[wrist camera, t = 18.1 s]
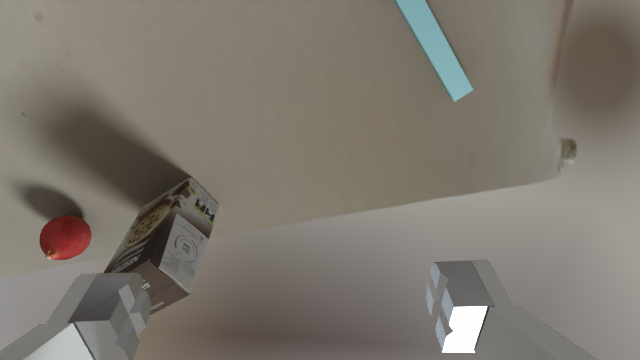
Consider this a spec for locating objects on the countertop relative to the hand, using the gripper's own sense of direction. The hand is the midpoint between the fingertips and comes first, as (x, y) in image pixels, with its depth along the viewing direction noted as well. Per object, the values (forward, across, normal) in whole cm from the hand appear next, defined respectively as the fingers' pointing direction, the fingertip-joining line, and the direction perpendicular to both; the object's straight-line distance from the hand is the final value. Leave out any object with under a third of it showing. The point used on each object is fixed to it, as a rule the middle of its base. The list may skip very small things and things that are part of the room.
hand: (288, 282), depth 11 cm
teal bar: (+38, -12, -2) cm, 39 cm away
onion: (+37, +33, +26) cm, 56 cm away
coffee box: (+37, +18, +24) cm, 48 cm away
